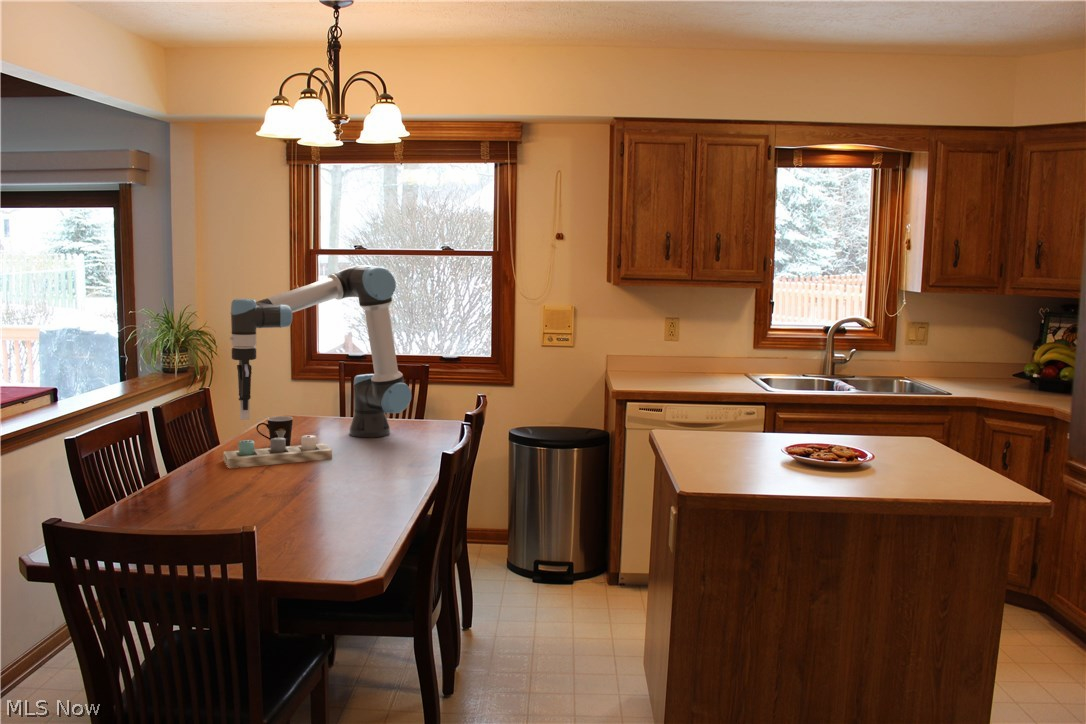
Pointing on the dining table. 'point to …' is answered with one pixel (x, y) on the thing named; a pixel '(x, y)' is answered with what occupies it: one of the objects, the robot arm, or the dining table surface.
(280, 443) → the gray dotted rounded cylinder
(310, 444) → the button
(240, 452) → the button
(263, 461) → the wooden compartment tray
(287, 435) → the coffee mug
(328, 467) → the dining table surface
